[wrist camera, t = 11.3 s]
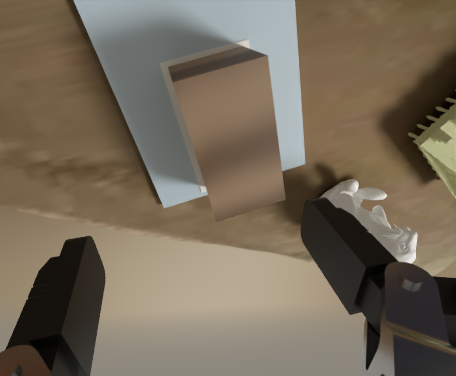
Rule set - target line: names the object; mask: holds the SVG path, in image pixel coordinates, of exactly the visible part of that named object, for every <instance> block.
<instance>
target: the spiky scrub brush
mask: <svg viewBox="0 0 456 376" xmlns="http://www.w3.org/2000/svg"><path fill="white" fill-rule="evenodd" d="M455 91H456V89H455ZM445 100H446V101H448V102H452V103H455V104H454V105H453V106H451V107H450V109H449V110H447V109H444V108H442V107H436V110H438V111H442V112H445V113H444V114H443V115H441V116H440V118H439V119H437V118H434V117H432V116H429V115H427V116H426V118H427V119H429V120H432V121H435V122H434V123H432V124H431V126H430V127H429V128H428V127H425V126H423V125H421V124H417V127H419V128H421V129H424V130H426V131H424V132H422V134H421V135H420V136H417V135H415V134H413V133H410V132H409V133H408V135H409V136H411V137H413V138H415V139H416V140H413V142H414V143H415V144H417V145H418V149H419V150H420V151H422V152H423V156H424V157H425V158H427V160H428V161H427V163H429V164H431V165H432V167H431V168H432V169H433V170H435V171H436V175H437V176H439V177H440V179H439V180H440V181H442V182H443V183H444V184H445V186H446V187H447V188H448V190H449V191H450V192H451V193H452V194H453V196H454V197H455V199H456V100H455V99H452V98H446V99H445Z"/></svg>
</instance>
